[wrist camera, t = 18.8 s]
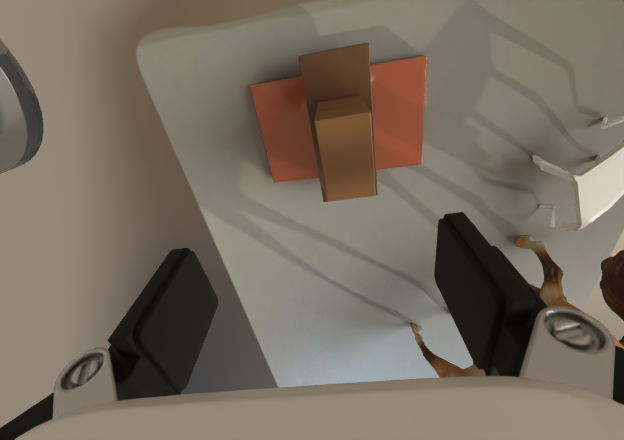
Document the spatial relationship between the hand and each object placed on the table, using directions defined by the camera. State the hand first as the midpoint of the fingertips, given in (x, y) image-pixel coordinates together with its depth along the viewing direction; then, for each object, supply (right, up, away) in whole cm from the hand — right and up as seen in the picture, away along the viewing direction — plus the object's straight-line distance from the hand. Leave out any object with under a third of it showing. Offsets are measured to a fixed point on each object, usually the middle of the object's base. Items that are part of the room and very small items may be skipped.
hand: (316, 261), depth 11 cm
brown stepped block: (+3, +11, +17) cm, 20 cm away
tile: (+3, +11, +18) cm, 22 cm away
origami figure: (+27, +7, +20) cm, 34 cm away
